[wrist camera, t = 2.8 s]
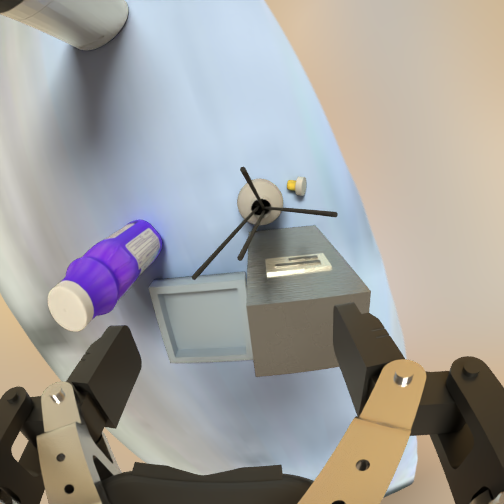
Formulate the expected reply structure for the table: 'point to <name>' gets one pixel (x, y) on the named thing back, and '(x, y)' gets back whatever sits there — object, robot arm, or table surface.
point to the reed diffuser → (261, 209)
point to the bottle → (103, 275)
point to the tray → (203, 317)
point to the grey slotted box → (297, 299)
